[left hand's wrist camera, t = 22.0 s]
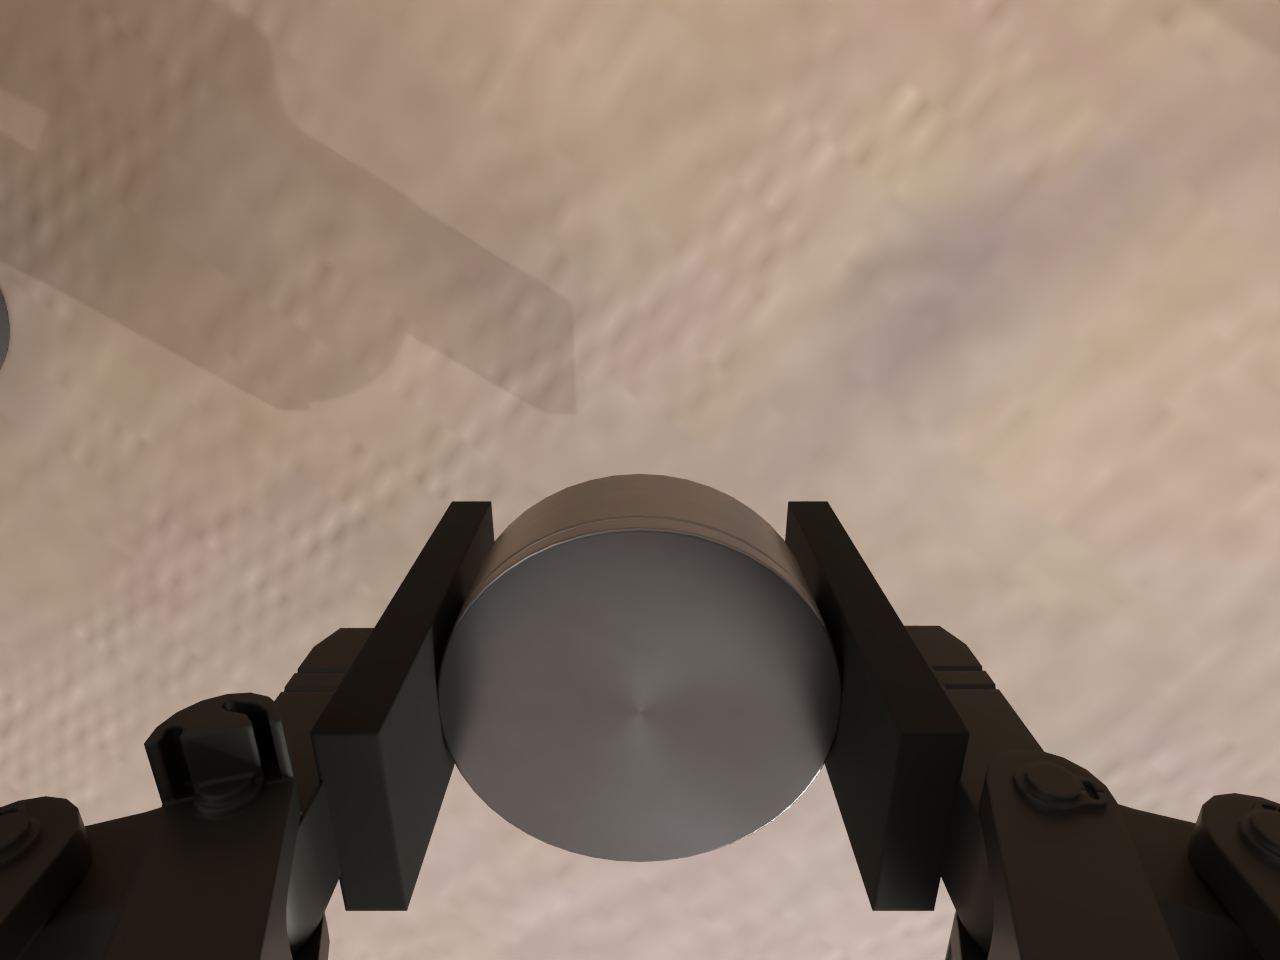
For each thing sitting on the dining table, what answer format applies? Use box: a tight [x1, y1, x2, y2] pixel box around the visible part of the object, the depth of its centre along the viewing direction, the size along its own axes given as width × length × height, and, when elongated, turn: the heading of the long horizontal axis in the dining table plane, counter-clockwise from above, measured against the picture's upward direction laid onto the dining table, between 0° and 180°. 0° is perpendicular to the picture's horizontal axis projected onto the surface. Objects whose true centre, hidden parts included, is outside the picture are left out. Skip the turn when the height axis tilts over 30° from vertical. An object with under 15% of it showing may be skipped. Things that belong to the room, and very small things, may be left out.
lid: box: [437, 474, 843, 862], centre depth 11 cm, size 6×6×2 cm
